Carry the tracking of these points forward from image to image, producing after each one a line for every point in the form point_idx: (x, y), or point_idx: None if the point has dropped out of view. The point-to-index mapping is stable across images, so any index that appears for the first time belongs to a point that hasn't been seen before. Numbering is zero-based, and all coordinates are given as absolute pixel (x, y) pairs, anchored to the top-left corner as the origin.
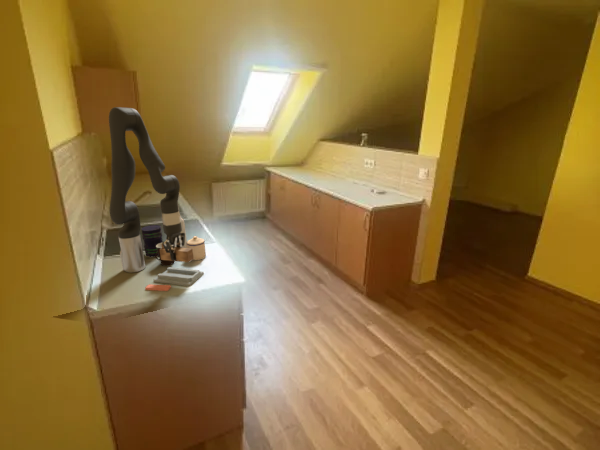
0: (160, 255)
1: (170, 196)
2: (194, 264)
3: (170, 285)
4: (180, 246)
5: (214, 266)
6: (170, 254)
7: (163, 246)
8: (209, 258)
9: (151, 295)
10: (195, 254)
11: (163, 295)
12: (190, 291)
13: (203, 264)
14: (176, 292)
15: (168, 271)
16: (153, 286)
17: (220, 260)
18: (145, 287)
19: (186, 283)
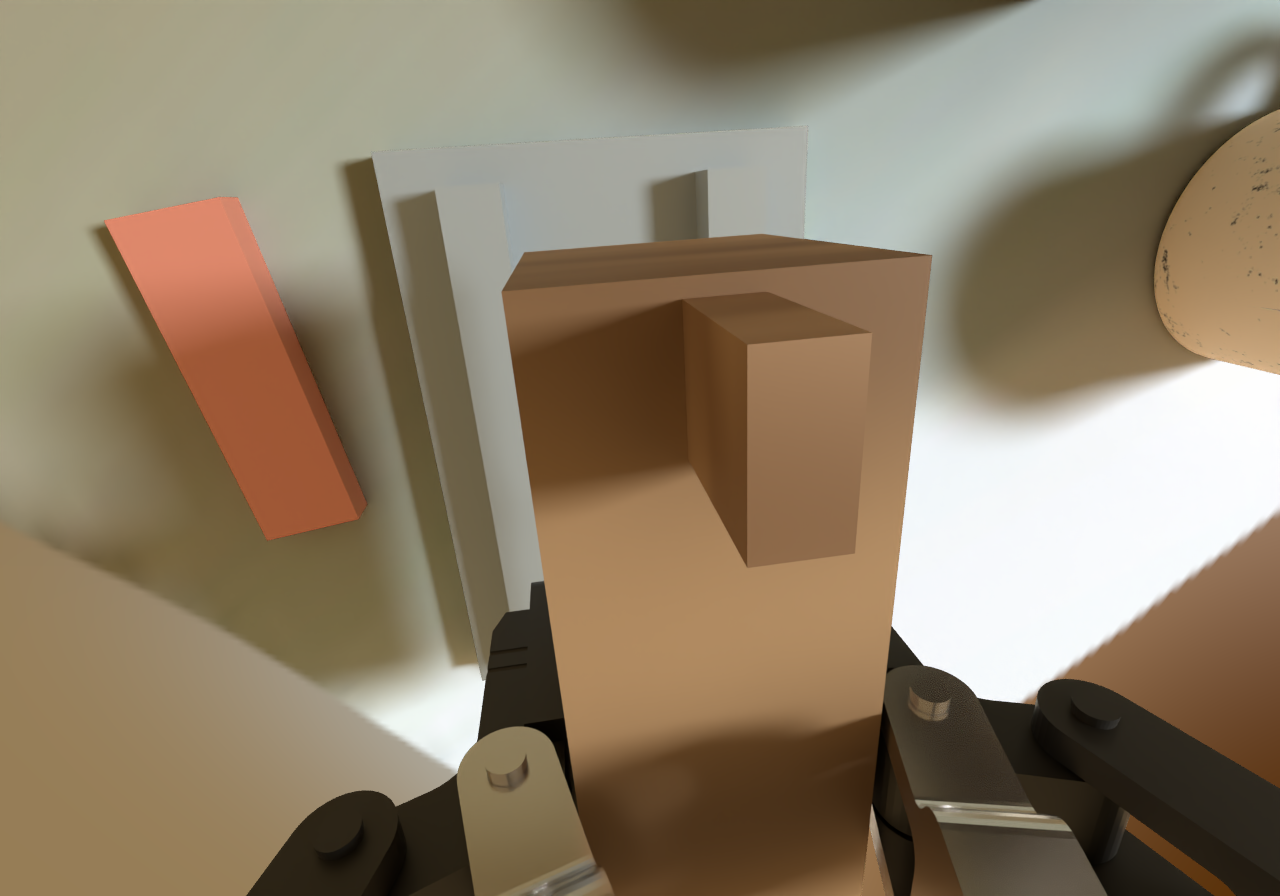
0: (520, 263)
1: None
2: (1021, 353)
3: (353, 518)
4: (886, 871)
5: (977, 602)
6: (481, 730)
7: (709, 413)
8: (1202, 422)
9: (74, 425)
10: (1245, 309)
11: (170, 555)
12: (394, 729)
13: (1025, 461)
14: (305, 631)
15: (695, 194)
16: (208, 322)
17: (1134, 570)
18: (110, 223)
19: (476, 648)
